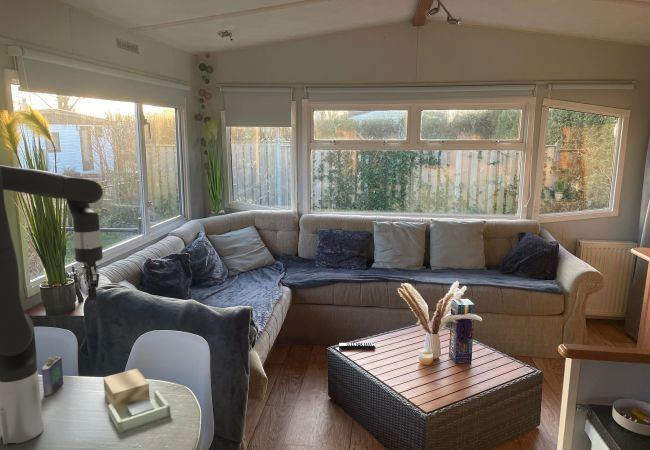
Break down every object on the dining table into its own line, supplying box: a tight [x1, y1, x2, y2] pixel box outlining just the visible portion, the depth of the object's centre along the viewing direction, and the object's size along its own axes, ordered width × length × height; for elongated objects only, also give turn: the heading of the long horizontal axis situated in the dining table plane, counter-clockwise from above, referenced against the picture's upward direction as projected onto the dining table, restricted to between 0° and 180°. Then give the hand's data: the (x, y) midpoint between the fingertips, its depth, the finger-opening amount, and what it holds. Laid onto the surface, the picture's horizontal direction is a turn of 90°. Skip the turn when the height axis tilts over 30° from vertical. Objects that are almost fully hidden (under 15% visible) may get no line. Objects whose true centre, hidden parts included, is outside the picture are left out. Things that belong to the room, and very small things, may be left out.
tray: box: [108, 389, 171, 434], centre depth 135 cm, size 14×11×3 cm
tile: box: [126, 399, 154, 417], centre depth 136 cm, size 6×6×2 cm
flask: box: [41, 356, 64, 397], centre depth 149 cm, size 9×3×11 cm, turn 2°
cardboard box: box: [102, 368, 150, 411], centre depth 144 cm, size 10×12×6 cm
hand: (92, 299), depth 147 cm, fingers closed
